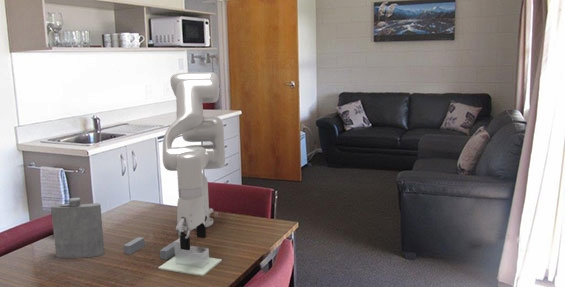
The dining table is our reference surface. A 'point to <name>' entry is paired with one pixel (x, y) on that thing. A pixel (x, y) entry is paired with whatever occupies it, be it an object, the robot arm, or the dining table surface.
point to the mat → (189, 267)
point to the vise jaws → (139, 243)
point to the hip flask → (77, 229)
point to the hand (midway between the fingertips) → (193, 243)
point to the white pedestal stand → (191, 255)
